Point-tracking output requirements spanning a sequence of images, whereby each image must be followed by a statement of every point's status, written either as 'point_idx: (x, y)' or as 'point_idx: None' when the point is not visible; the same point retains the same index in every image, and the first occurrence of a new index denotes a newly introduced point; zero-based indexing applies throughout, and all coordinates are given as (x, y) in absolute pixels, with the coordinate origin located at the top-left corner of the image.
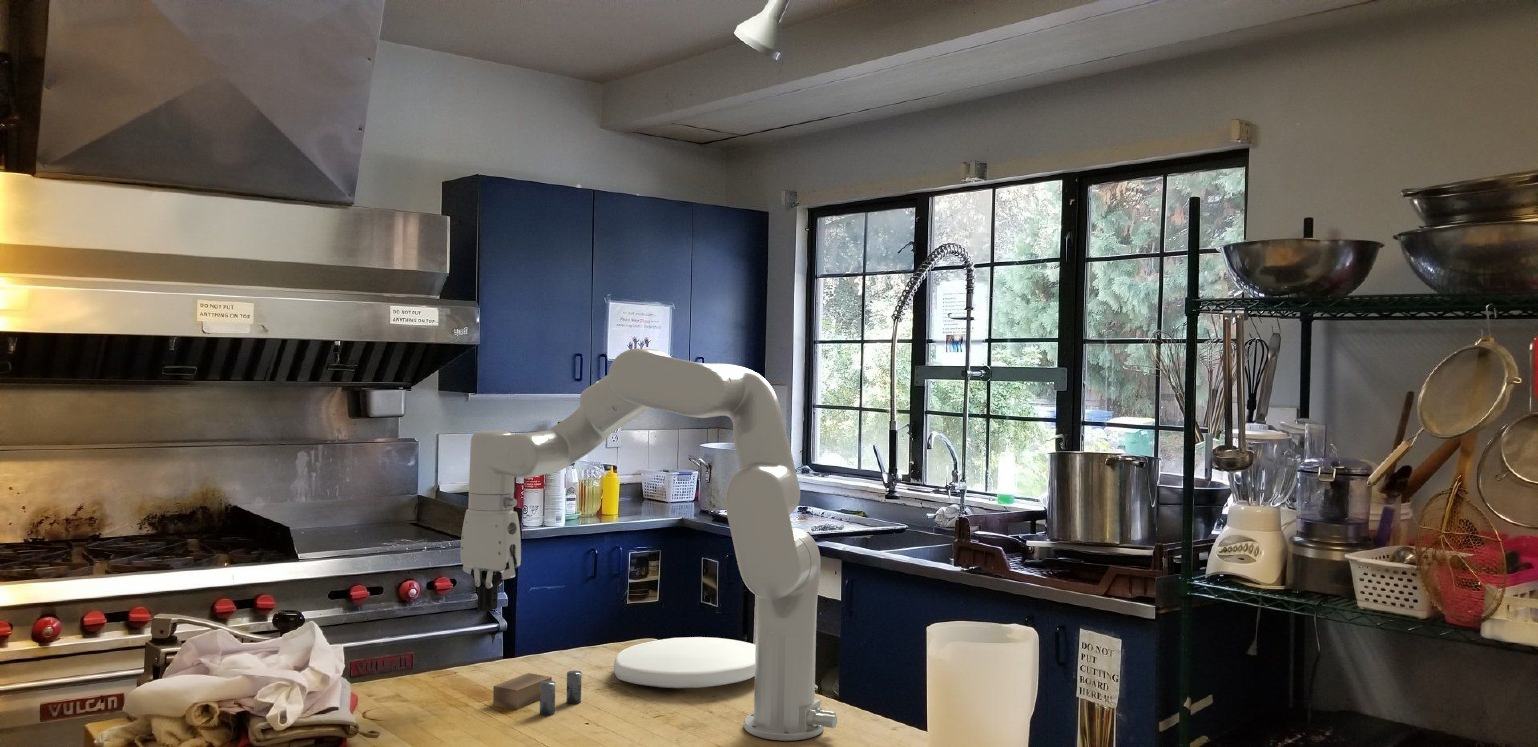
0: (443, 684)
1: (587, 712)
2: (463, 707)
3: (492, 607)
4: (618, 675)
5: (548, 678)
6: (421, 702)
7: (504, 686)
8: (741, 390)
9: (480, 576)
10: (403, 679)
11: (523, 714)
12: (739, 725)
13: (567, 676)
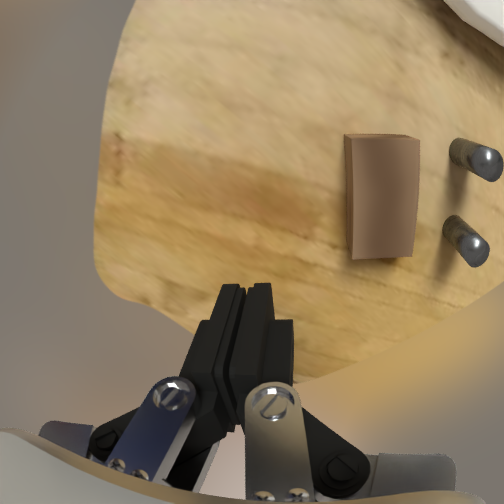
0: (166, 202)
1: (498, 189)
2: (310, 276)
3: (273, 313)
4: (469, 22)
5: (419, 152)
6: None
7: (374, 250)
8: None
9: (204, 473)
10: (101, 223)
11: (422, 250)
12: None
13: (482, 177)
